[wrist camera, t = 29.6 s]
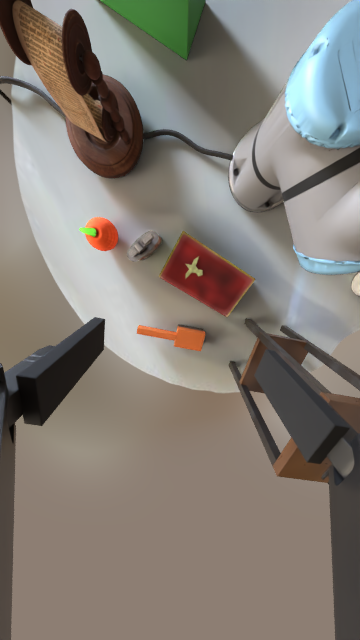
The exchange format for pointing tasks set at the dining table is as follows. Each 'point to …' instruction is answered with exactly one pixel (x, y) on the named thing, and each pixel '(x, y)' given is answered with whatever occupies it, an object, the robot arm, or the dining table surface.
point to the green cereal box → (163, 20)
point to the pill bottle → (356, 284)
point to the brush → (178, 336)
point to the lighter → (144, 246)
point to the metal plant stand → (293, 353)
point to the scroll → (77, 87)
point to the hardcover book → (205, 275)
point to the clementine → (101, 233)
